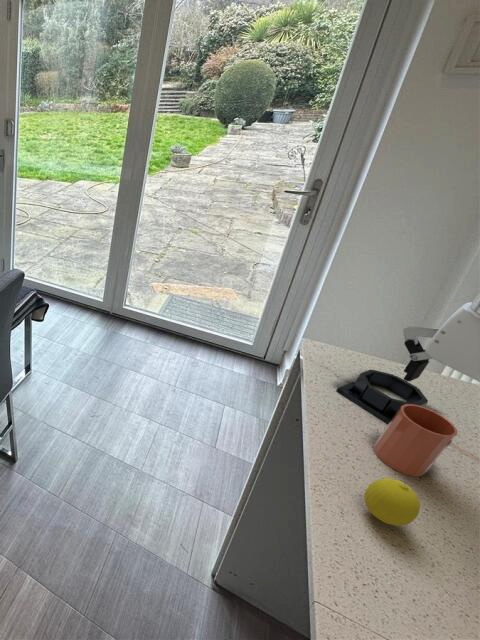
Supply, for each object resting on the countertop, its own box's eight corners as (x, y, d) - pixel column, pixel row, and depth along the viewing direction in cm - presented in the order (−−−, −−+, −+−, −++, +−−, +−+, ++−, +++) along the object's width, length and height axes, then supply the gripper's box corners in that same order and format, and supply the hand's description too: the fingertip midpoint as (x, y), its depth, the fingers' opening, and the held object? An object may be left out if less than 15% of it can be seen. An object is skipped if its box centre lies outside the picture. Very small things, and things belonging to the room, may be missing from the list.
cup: (386, 438, 77) (414, 400, 72) (433, 469, 71) (466, 429, 66) (364, 449, 74) (392, 410, 70) (410, 481, 69) (443, 441, 64)
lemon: (368, 531, 62) (395, 498, 58) (347, 496, 66) (371, 464, 63) (412, 541, 60) (441, 508, 57) (387, 504, 65) (413, 472, 62)
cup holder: (367, 378, 91) (377, 363, 89) (431, 415, 82) (443, 399, 80) (336, 390, 87) (345, 375, 85) (399, 431, 78) (411, 414, 76)
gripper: (626, 342, 52) (540, 434, 60) (446, 278, 67) (396, 359, 74) (600, 356, 50) (514, 450, 58) (419, 287, 64) (370, 369, 72)
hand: (448, 398), depth 66 cm, fingers open, 9 cm apart
